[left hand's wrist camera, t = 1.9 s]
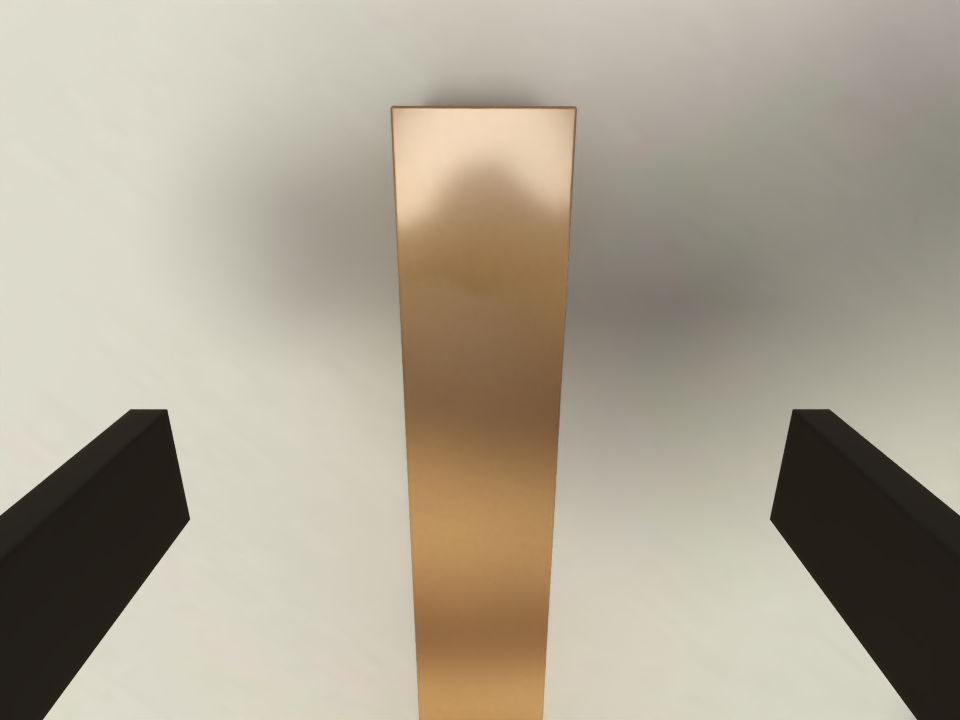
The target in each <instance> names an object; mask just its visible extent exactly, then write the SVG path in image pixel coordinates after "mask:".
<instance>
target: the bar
mask: <svg viewBox="0 0 960 720" xmlns="http://www.w3.org/2000/svg"><path fill="white" fill-rule="evenodd" d="M576 116H577V108H576V107H575V106H392V107H391V130H392V151H393V172H394V194H395V215H396V236H397V257H398V278H399V300H400V321H401V342H402V363H403V384H404V406H405V427H406V448H407V469H408V490H409V512H410V533H411V554H412V575H413V596H414V618H415V639H416V660H417V681H418V702H419V720H543V703H544V685H545V667H546V649H547V632H548V614H549V596H550V578H551V560H552V543H553V525H554V507H555V489H556V471H557V454H558V436H559V418H560V400H561V382H562V365H563V347H564V329H565V311H566V294H567V276H568V258H569V240H570V222H571V205H572V187H573V169H574V151H575V133H576Z"/></svg>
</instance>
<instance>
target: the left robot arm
mask: <svg viewBox="0 0 960 720" xmlns="http://www.w3.org/2000/svg"><path fill="white" fill-rule="evenodd" d="M189 520H190V517H189V512H188V507H187V502H186V497H185V493H184V488H183V483H182V478H181V473H180V469H179V464H178V459H177V454H176V449H175V444H174V440H173V435H172V430H171V425H170V420H169V416H168V411H167V409H131V410H129V411H128V412H127V413H126V414H124V415H123V416H122V417H121V418H120V419H118V420H117V421H116V422H115V423H113V424H112V425H111V426H110V427H108V428H107V429H106V430H105V431H104V432H102V433H101V434H100V435H99V436H97V437H96V438H95V439H94V440H93V441H91V442H90V443H89V444H88V445H86V446H85V447H84V448H83V449H81V450H80V451H79V452H78V453H77V454H75V455H74V456H73V457H72V458H70V459H69V460H68V461H67V462H66V463H64V464H63V465H62V466H61V467H59V468H58V469H57V470H56V471H55V472H53V473H52V474H51V475H50V476H48V477H47V478H46V479H45V480H43V481H42V482H41V483H40V484H39V485H37V486H36V487H35V488H34V489H32V490H31V491H30V492H29V493H28V494H26V495H25V496H24V497H23V498H21V499H20V500H19V501H18V502H16V503H15V504H14V505H13V506H12V507H10V508H9V509H8V510H7V511H5V512H4V513H3V514H2V515H1V516H0V720H43V719H44V717H45V716H46V715H47V713H48V712H49V711H50V709H51V708H52V707H53V705H54V704H55V702H56V701H57V700H58V698H59V697H60V696H61V694H62V693H63V692H64V690H65V689H66V687H67V686H68V685H69V683H70V682H71V681H72V679H73V678H74V677H75V675H76V674H77V673H78V671H79V670H80V668H81V667H82V666H83V664H84V663H85V662H86V660H87V659H88V658H89V656H90V655H91V653H92V652H93V651H94V649H95V648H96V647H97V645H98V644H99V643H100V641H101V640H102V638H103V637H104V636H105V634H106V633H107V632H108V630H109V629H110V628H111V626H112V625H113V624H114V622H115V621H116V619H117V618H118V617H119V615H120V614H121V613H122V611H123V610H124V609H125V607H126V606H127V604H128V603H129V602H130V600H131V599H132V598H133V596H134V595H135V594H136V592H137V591H138V589H139V588H140V587H141V585H142V584H143V583H144V581H145V580H146V579H147V577H148V576H149V575H150V573H151V572H152V570H153V569H154V568H155V566H156V565H157V564H158V562H159V561H160V560H161V558H162V557H163V555H164V554H165V553H166V551H167V550H168V549H169V547H170V546H171V545H172V543H173V542H174V541H175V539H176V538H177V536H178V535H179V534H180V532H181V531H182V530H183V528H184V527H185V526H186V524H187V523H188V521H189ZM770 520H771V521H772V523H773V524H774V526H775V527H776V528H777V530H778V531H779V532H780V534H781V535H782V536H783V538H784V539H785V541H786V542H787V543H788V545H789V546H790V547H791V549H792V550H793V551H794V553H795V554H796V555H797V557H798V558H799V560H800V561H801V562H802V564H803V565H804V566H805V568H806V569H807V570H808V572H809V573H810V575H811V576H812V577H813V579H814V580H815V581H816V583H817V584H818V585H819V587H820V588H821V589H822V591H823V592H824V594H825V595H826V596H827V598H828V599H829V600H830V602H831V603H832V604H833V606H834V607H835V609H836V610H837V611H838V613H839V614H840V615H841V617H842V618H843V619H844V621H845V622H846V624H847V625H848V626H849V628H850V629H851V630H852V632H853V633H854V634H855V636H856V637H857V638H858V640H859V641H860V643H861V644H862V645H863V647H864V648H865V649H866V651H867V652H868V653H869V655H870V656H871V658H872V659H873V660H874V662H875V663H876V664H877V666H878V667H879V668H880V670H881V671H882V673H883V674H884V675H885V677H886V678H887V679H888V681H889V682H890V683H891V685H892V686H893V687H894V689H895V690H896V692H897V693H898V694H899V696H900V697H901V698H902V700H903V701H904V702H905V704H906V705H907V707H908V708H909V709H910V711H911V712H912V713H913V715H914V716H915V717H916V719H917V720H960V516H959V515H958V514H957V513H956V512H955V511H953V510H952V509H951V508H950V507H948V506H947V505H946V504H945V503H944V502H942V501H941V500H940V499H939V498H937V497H936V496H935V495H934V494H932V493H931V492H930V491H929V490H928V489H926V488H925V487H924V486H923V485H921V484H920V483H919V482H918V481H917V480H915V479H914V478H913V477H912V476H910V475H909V474H908V473H907V472H905V471H904V470H903V469H902V468H901V467H899V466H898V465H897V464H896V463H894V462H893V461H892V460H891V459H890V458H888V457H887V456H886V455H885V454H883V453H882V452H881V451H880V450H879V449H877V448H876V447H875V446H874V445H872V444H871V443H870V442H869V441H867V440H866V439H865V438H864V437H863V436H861V435H860V434H859V433H858V432H856V431H855V430H854V429H853V428H852V427H850V426H849V425H848V424H847V423H845V422H844V421H843V420H842V419H840V418H839V417H838V416H837V415H836V414H834V413H833V412H832V411H831V410H829V409H793V411H792V416H791V420H790V425H789V430H788V435H787V440H786V444H785V449H784V454H783V459H782V464H781V468H780V473H779V478H778V483H777V488H776V493H775V497H774V502H773V507H772V512H771V517H770Z"/></svg>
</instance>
